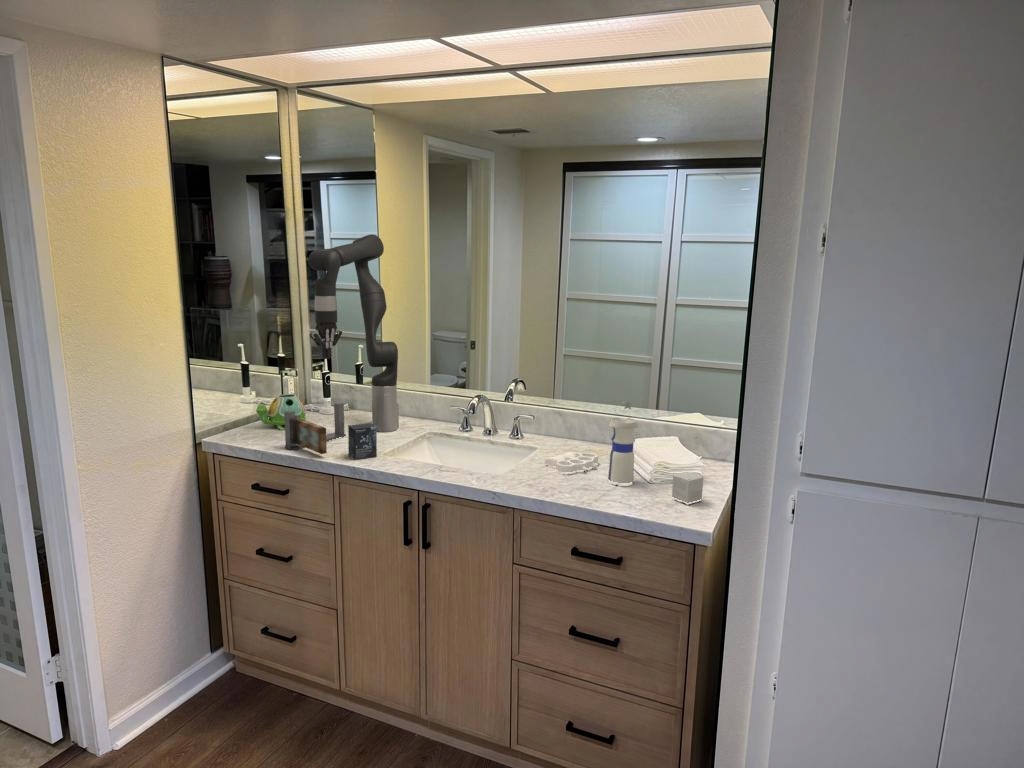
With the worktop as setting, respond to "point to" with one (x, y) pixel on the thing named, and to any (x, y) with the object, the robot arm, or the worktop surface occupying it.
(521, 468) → the worktop surface
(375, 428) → the box
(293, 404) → the turtle holder
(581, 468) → the knuckle duster
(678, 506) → the worktop surface
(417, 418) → the worktop surface
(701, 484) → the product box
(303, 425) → the gate
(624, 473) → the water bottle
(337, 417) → the gate frame
